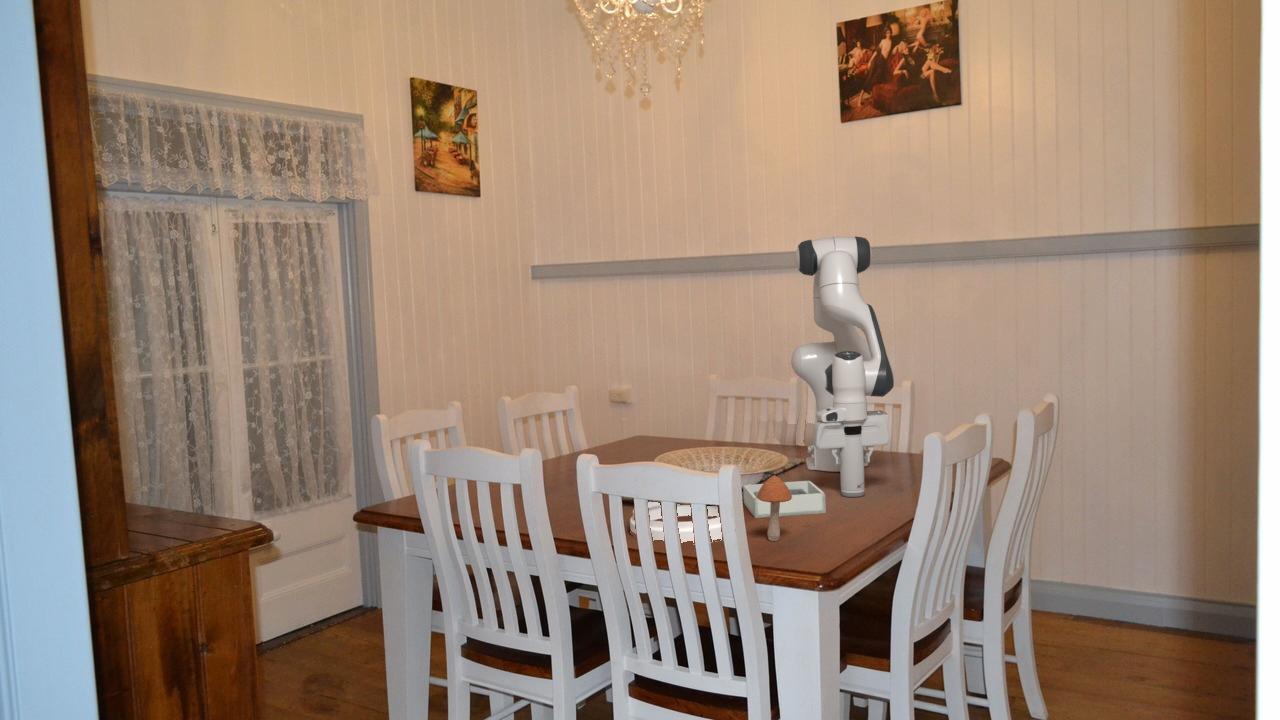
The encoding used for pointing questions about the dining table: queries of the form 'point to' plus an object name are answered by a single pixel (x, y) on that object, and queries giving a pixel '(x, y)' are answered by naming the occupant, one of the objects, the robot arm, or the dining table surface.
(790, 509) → the crate
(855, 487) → the travel mug
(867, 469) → the dining table surface
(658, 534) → the plate
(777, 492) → the mushroom
